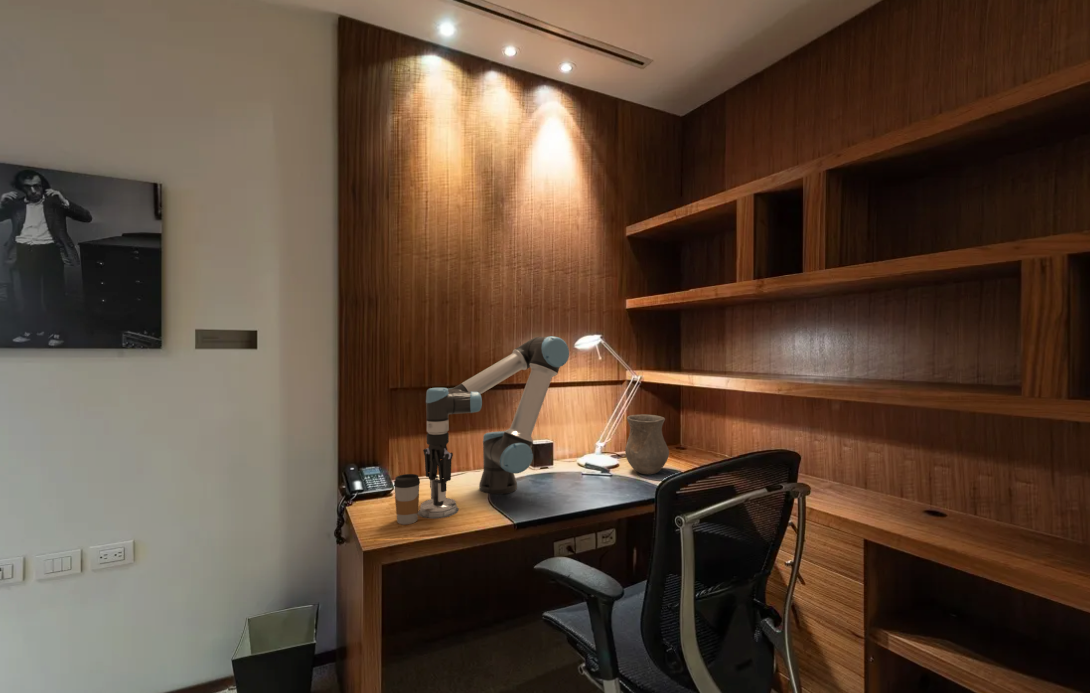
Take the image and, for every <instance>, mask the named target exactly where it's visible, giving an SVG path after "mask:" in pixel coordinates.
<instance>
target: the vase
mask: <svg viewBox="0 0 1090 693" xmlns="http://www.w3.org/2000/svg"><path fill="white" fill-rule="evenodd" d="M626 420H627V422H628V424H629V428H630V429H629V435H628V438H627V442H626V444H625V450H624V452H625V453H624V454H625V457H626V461H627V462H628V464H629V465H630V467H631V468H632V469H633V470H634V471H636V472H637V473H639V474H641V475H654V474H657V473H659V472H660V471H661V469H663V468H664V466H665V465H666V463H667V461H668V459H669V456H670V451H669V450H670V448H668V445H667V443H666V441H665V438H664V436H663V431H662V430H663V429H662V428H663V426H664V422H665V420H666V418H665V417H663V416H660V415H657V414H656V415H655V414H631V415H628V416H627V417H626Z"/></svg>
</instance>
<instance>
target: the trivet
mask: <svg viewBox="0 0 1090 693" xmlns="http://www.w3.org/2000/svg"><path fill="white" fill-rule="evenodd" d="M459 511H460V508H459V507H458V506H457V505H456V512H455V513H453V514H450V515H448V516H445V517H444V516H443V517H432V518H428V517H426V516H423V515H420V509H418V517H421V518H424V519H433V520H436V519H437V520H438V519H443V518H449V517H452V516H453V515H456V514H457V513H458V512H459Z"/></svg>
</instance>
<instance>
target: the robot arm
mask: <svg viewBox="0 0 1090 693" xmlns="http://www.w3.org/2000/svg"><path fill="white" fill-rule="evenodd" d="M569 358H570V349H569V346H568V343H566V341H565V340H564V339H562V338H561V337H558V336H553V335H550V336H537V337H533V338H532V339H530V340H527V341H526V342H524V343H522V344H521V345H519V346H518V347H515V348H514V349H513V350H512V353H511V354H509V355H507V356H505V357H503V358H502V359H501V360H499V361H497V362H496V363H493V364H492V365H491V366H489V367H487V368H485V369H483V370H482V371H480V372H478V373H477V374H475V375H473V376H471V377H469V378H468V379H466V380H464V381H463V382H462V383H460V384H458V385H456V386H455V387H450V388H449V387H448V388H447V387H432V388H431V387H430V388H428V389H427V390H426V396H425V406H426V408H425V410H426V433H427V434H426V444H427V445H428V446H427V448H424V449H423V450H422V451H423V455H424V468H425V470H424V472H425V477H426V478H428V479H429V487H430V488H429V489H430V499H433V481H434V480H438V479H440V481H439V482H438V501H439V502H441V501H444V500H446V498H447V483H448V482H450V481H451V480H452V460H453V456H454V454H453V452H449V451H448V447H447V444H449V441H450V438H449V437H450V436H449V432H448V431H449V430H450V428H449V415H453V414H454V415H457V414H473V413H479V412H480V411H481V410H482V407H483V406H482V405H483V400H482V395H481V394H483V393H485V392H486V391H488V390H490V389H491V388H493V387H495V386H496V385H498V384H500V383H502V382H504V381H505V380H506V379H509V377H511V376H513V375H515V374H516V373H518V372H520V371H521V370H523V371H526V370H527V369H529V368H530V369H531V370H530V373H529V376H528V379H527V380H526V384H525V386H524V389H523V392H522V393H521V394H522V395H521V398H520V399H519V403H518V406H517V408H516V411H515V413H514V416H513V420H512V422H511V425H510V427H509V428H508V429H506V430H503V431H501V430H500V431H490V432H486V433H484V434H483V438H482V439H483V440H482V449H483V451H482V453H483V456H482V457H483V458H482V459H483V461H482V462H483V471H482V474H481V478H480V481H479V484H478V485H479V486H478V487H479V491H480V492H482V493H484V494H491V495H500V494H501V495H506V494H507V495H508V494H510V493H513V492H515V491H516V490H518V484H517V479H516V476H515V475H516V474H521V473H523V472H525V471H526V470H527V469H529V468H530V466H531V464H532V463H533V459H534V454H533V451H532V447H533V443H534V440H533V438H532V435H533V432H534V429H535V427H536V426H535V425H536V424H537V420H538V417H539V415H540V413H541V410H542V407H543V405H544V400H545V398H546V395H547V392H548V390H549V387H550V384H551V381H552V379H553V378H554V377H555V376H557V375H558V374H559V371H560V368H561V367H563V366H564V365H565V364H566V363H568V360H569Z"/></svg>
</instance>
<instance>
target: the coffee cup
mask: <svg viewBox="0 0 1090 693" xmlns="http://www.w3.org/2000/svg"><path fill="white" fill-rule="evenodd" d="M420 480H421V479H420V478H419V475H418V474H415V473H407V474H406V473H404V474H400V475H398V476H396V477H395V480H394V481H393V482H394V483H393V486H394V500H395V502H394V504H395V512H396V522H397V524H399V525H411V524H413V523H416V522H418V517H419V515H418V511H419V503H420V502H419V501H420V500H419V498H420V484H421V482H420Z"/></svg>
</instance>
